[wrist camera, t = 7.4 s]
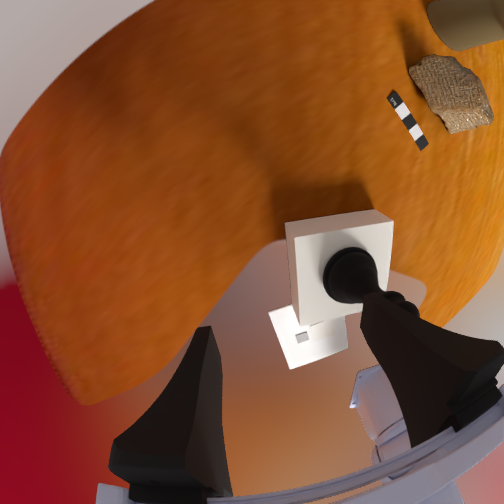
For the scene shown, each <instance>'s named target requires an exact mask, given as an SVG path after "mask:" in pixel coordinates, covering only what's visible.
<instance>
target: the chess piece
mask: <svg viewBox="0 0 504 504" xmlns="http://www.w3.org/2000/svg"><path fill="white" fill-rule="evenodd" d="M323 285H324V289H325V291H326V293H327V294H328V295H329V297H331V298H332V299H333V300H335V301H337V302H339V303H345V304H356V303H358V304H361V303H363V300H364V295H365V294H369V293H373V292H376V293H378V294H380V295H381V296H383V297H385V298H386V299H388V300H390V301H391V302H393V303H395V304H396V305H398V306H400V307H401V308H403V309H405V310H406V311H408V312H410V313H412V314H414V315H415V316H417V317H419V318H420V314H419V311H418V309H417V307H416V306H415V305H414V304H413V303H411V302H409V301H405V298H404V296H403V295H402V294H400V293H398V292H395V291H383V290H382V289H381V288H380V286H379V282H378V271H377V267H376V263H375V261H374V259H373V257H372V256H371V255H370V253H368V252H367V251H366V250H364V249H362V248H359V247H348V248H344V249H342V250H340V251H338V252H337V253H335V254H334V255H333V256H332V257H331V258H330V259H329V261H328V262H327V264H326V266H325V269H324V272H323Z"/></svg>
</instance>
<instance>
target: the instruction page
mask: <svg viewBox="0 0 504 504" xmlns="http://www.w3.org/2000/svg"><path fill="white" fill-rule="evenodd" d="M268 313H269V316H270V319H271V321H272V324H273V326H274V329H275V332H276V334H277V337H278V339H279V342H280V344H281V347H282V350H283V352H284V355H285V358H286V360H287V363H288V365H289V368H290V369H293V368H296V367H299V366H302V365H305V364H308V363H311V362H314V361H317V360H319V359H322V358H325V357H327V356H330V355H333V354H335V353H338V352H340V351H343V350H346V349H348V348H349V346H348V337H347V330H346V321H345V316H342V317H339V318H334V319H330V320H326V321H322V322H318V323H313V324H309V325H304V326H300V325H299V323H298V320H297V318H296V315H295V312H294V310H293V307H292V304H289V305H286V306H283V307H280V308H277V309H274V310H271V311H268Z"/></svg>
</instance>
